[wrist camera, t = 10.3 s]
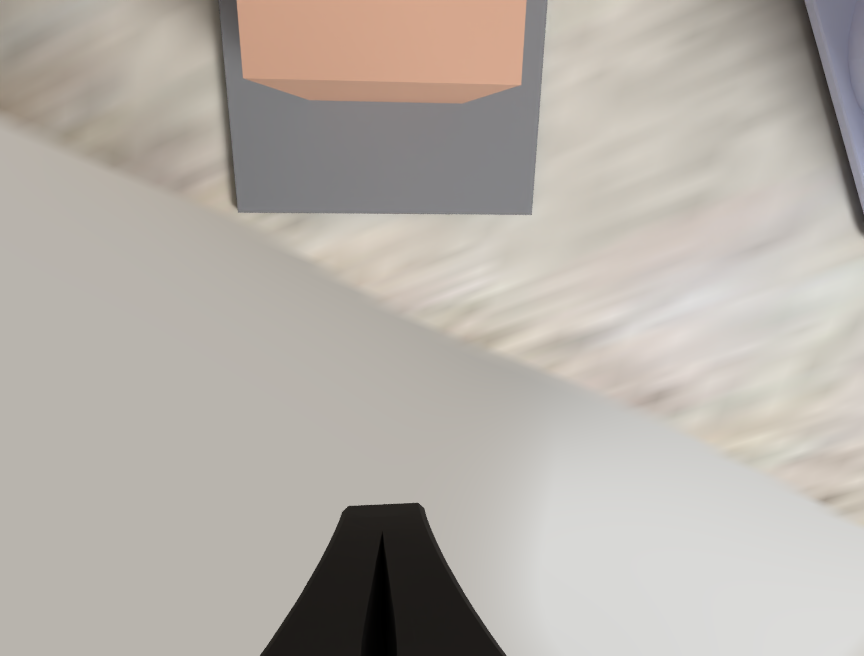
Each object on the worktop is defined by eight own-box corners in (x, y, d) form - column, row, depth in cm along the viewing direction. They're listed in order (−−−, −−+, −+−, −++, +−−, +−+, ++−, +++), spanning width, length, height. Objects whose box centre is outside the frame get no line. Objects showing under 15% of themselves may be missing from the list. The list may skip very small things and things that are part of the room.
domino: (462, 103, 17) (521, 84, 9) (309, 100, 17) (242, 78, 9) (464, 42, 16) (528, -29, 9) (306, 38, 16) (233, -40, 8)
